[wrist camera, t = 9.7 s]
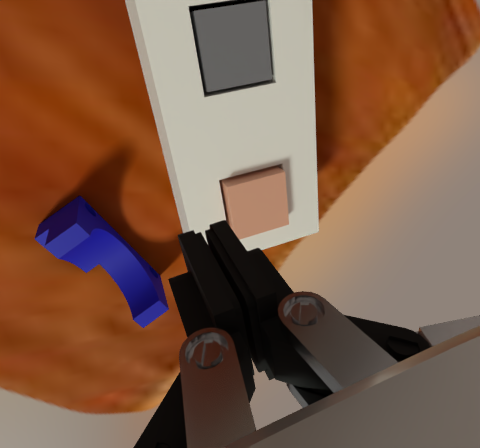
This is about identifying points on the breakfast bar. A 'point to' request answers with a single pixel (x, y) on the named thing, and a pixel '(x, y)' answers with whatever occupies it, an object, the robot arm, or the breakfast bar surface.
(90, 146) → the breakfast bar surface
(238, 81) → the charcoal plunger
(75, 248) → the blue curved piece
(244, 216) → the dusty pink cube
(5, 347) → the breakfast bar surface
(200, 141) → the block
